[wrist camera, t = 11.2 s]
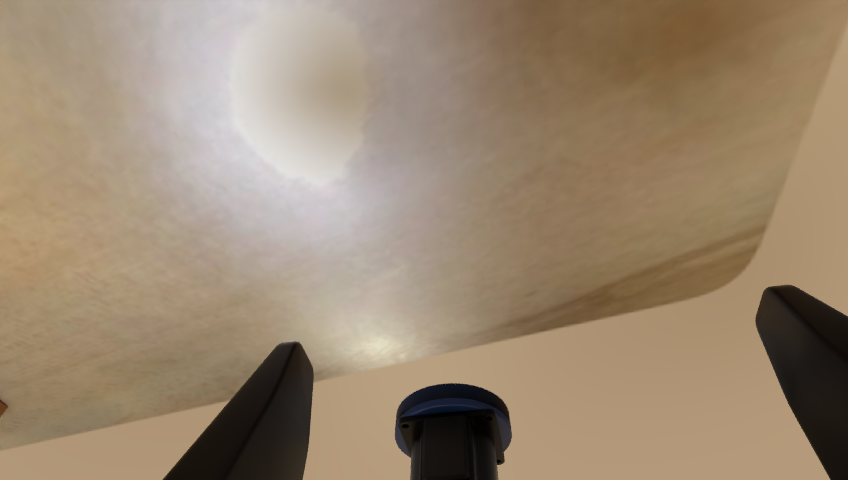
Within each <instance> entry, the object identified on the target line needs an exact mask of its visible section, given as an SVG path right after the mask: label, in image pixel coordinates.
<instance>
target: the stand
mask: <svg viewBox="0 0 848 480" xmlns="http://www.w3.org/2000/svg"><path fill="white" fill-rule="evenodd" d="M6 409H7V406H5V405H4V404H3V403H2V402H1V401H0V417H1V415H2V414H3V413H4V411H5V410H6Z"/></svg>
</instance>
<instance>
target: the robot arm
mask: <svg viewBox="0 0 848 480" xmlns="http://www.w3.org/2000/svg"><path fill="white" fill-rule="evenodd" d="M756 327H757V330H758V333H759V335H760V337H761V340H762V342H763V345H764V347H765V349H766V352H767V354H768V356H769V359H770V361H771V364H772V366H773V369H774V371H775V373H776V376H777V378H778V381H779V383H780V385H781V388H782V390H783V393H784V395H785V397H786V399H787V401H788V404H789V406H790V407H791V409H792V411H793V413H794V415H795V417H796V418H797V421H798V422H799V424H800V426H801V428H802V429H803V431H804V433H805V435H806V437H807V438H808V440H809V442H810V444H811V446H812V447H813V449H814V451H815V453H816V454H817V456H818V458H819V460H820V462H821V463H822V465H823V467H824V469H825V471H826V472H827V474H828V476H829V478H830V480H848V316H846V315H844V314H843V313H841V312H839V311H837V310H835V309H834V308H832V307H830V306H828V305H827V304H825V303H823V302H822V301H820V300H818V299H816V298H814V297H813V296H811V295H809V294H807V293H806V292H804V291H802V290H800V289H799V288H797V287H795V286H792V285H781V286H772V287H768V288H766V289H765V290H764V292H763V295H762V298H761V301H760V305H759V308H758V311H757V315H756ZM313 378H314V374H313V367H312V365H311V362H310V360H309V359H308V357H307V355H306V353H305V351H304V349H303V347H302V345H301V344H300V343H299V342H296V341H294V342H286V343H281V344H279V345H277V346H276V347H275V349H274V350H273V351H272V352H271V353H270V354H269V356H268V357H267V358H266V359H265V360H264V362H263V363H262V364H261V365H260V366H259V367H258V369H257V370H256V371H255V372H254V373H253V374H252V376H251V377H250V378H249V379H248V380H247V381H246V383H245V384H244V385H243V386H242V387H241V388H240V390H239V391H238V392H237V393H236V394H235V395H234V397H233V398H232V399H231V400H230V401H229V403H228V404H227V405H226V406H225V407H224V408H223V410H222V411H221V412H220V413H219V414H218V416H217V417H216V418H215V419H214V420H213V421H212V422H211V424H210V425H209V426H208V427H207V428H206V430H205V431H204V432H203V433H202V434H201V435H200V437H199V438H198V439H197V440H196V441H195V443H194V444H193V445H192V446H191V447H190V448H189V449H188V451H187V452H186V453H185V454H184V455H183V456H182V458H181V459H180V460H179V461H178V462H177V463H176V465H175V466H174V467H173V468H172V469H171V471H170V472H169V473H168V474H167V475H166V476H165V478H164V479H163V480H302V479H303V474H304V469H305V463H306V458H307V452H308V445H309V435H310V419H311V406H312V392H313ZM398 427H399V430H400V432H401V435H402V437H403V440H404V442H405V444H406V447H407V449H408V452H409V454H410V457H411V476H410V480H498V471H497V465H501V464H503V463H504V453H503V448H502V443H501V438H500V432H499V427H498V422H497V417H496V412H495V411H494V410H493V409H479V410H468V411H458V412H447V413H436V414H426V415H415V416H404V417H401V418H399V420H398Z"/></svg>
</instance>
